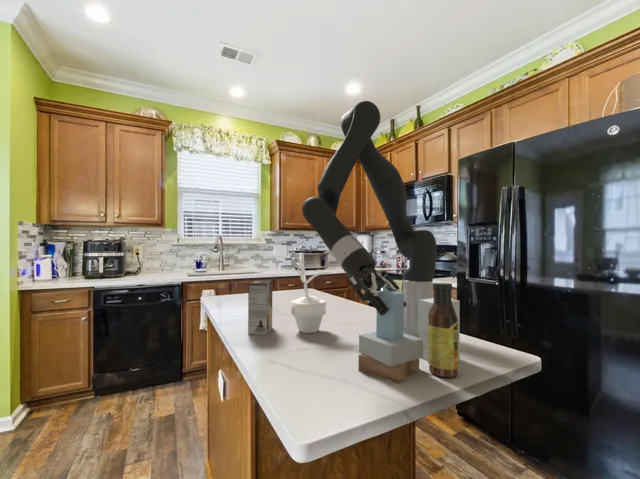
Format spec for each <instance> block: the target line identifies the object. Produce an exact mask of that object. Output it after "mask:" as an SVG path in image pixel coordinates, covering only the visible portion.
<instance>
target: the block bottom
mask: <svg viewBox="0 0 640 479" xmlns="http://www.w3.org/2000/svg"><path fill="white" fill-rule="evenodd" d="M419 370H420V358H419V359H416V360H412V361H409V362H405V363H402V364H398V365H395V366H389V365H387V364H384V363H382V362H380V361H377V360H375V359H373V358H370V357H368V356H366V355H364V354H361V353H359V354H358V372H360V373H364V374H367V375H370V376H374V377H377V378H380V379H384V380H386V381H390V382H393V383H395V384H396V383H397V384H402V383H404V382H405V381H406V380H407V379H408V378H410V377H412V375H414V374H415V373H416V372H417V371H419Z"/></svg>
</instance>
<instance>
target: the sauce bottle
mask: <svg viewBox="0 0 640 479" xmlns="http://www.w3.org/2000/svg"><path fill="white" fill-rule="evenodd" d="M452 291H453V284H452V283H450V282H433V298H434V300H433V301H434V304H433V306H432V308H431V309H430V311H429V324H428V355H429V361H428V365H429V367H428V368H429V369H428V370H429V372H430V373H431V374H432V375H434V376H437V377H440V378H446V379H447V378H448V379H449V378H450V379H451V378H455V377H456V376H458V375H459V367H460V363H459V361H460V360H459V350H458V347H459V344H458V318H457V316H456V313H455V310H454V307H453V304H452V299H453V298H452V296H453V295H452Z"/></svg>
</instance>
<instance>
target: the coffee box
mask: <svg viewBox="0 0 640 479" xmlns="http://www.w3.org/2000/svg"><path fill="white" fill-rule="evenodd" d="M273 282H274V281H273V280H254V281H251V282H250V283H247V284H248V291H247V292H248V293H247V296H248V298H247V299H248V301H247V304H248V305H247V307H248V308H247V334H248V335H264V336H265V335H268V334H269V332H270V331H271V329H272V328H273Z"/></svg>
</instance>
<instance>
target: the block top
mask: <svg viewBox="0 0 640 479" xmlns="http://www.w3.org/2000/svg"><path fill="white" fill-rule="evenodd" d="M358 353H359V354H364V355H366V356H368V357H370V358H373V359H375V360H377V361H380V362H382V363H384V364H387V365H389V366H395V365H398V364H402V363H405V362H409V361H412V360H416V359H419V360H420V359H424V358H423V339H421V338H418V337H415V336H411V335H408V334H405V333H403V337H402V338H399V339H397V340H395V341H392V340H388V339H384V338H380V337H376V331H373V332H367V333H363V334H359V335H358Z"/></svg>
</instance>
